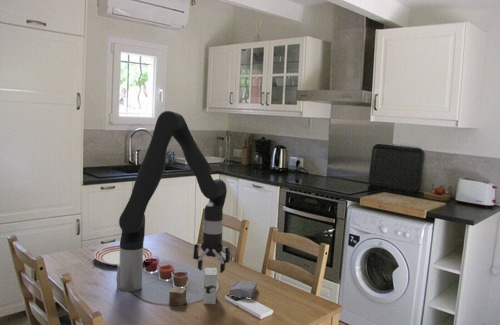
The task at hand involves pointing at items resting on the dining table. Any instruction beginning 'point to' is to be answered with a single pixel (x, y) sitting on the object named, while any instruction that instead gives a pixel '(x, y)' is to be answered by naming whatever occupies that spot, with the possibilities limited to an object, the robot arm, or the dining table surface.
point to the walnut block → (177, 296)
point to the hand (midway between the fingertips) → (211, 270)
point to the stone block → (243, 289)
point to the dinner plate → (116, 255)
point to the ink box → (210, 286)
